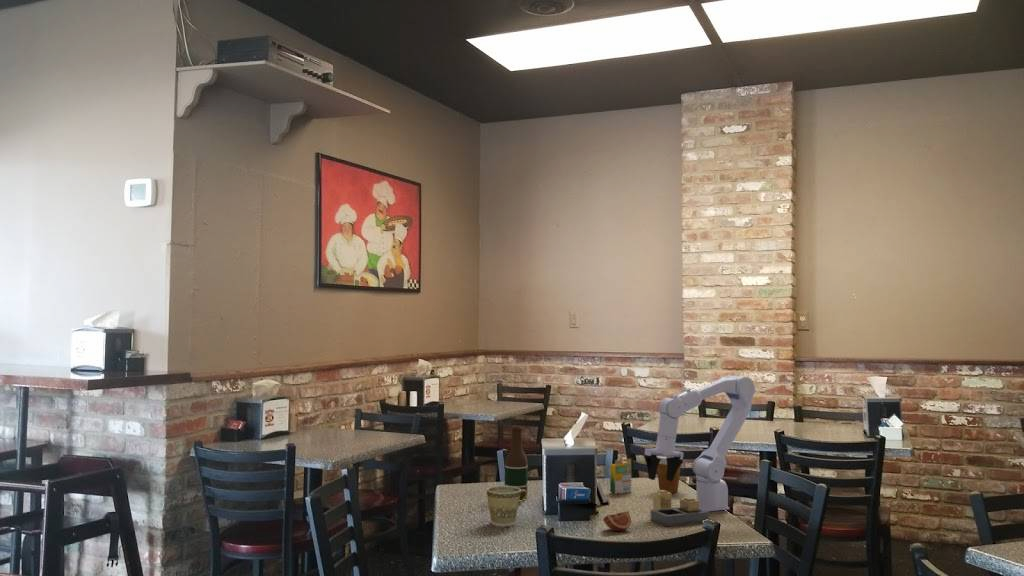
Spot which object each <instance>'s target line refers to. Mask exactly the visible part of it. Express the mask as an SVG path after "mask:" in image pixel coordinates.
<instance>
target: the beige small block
mask: <svg viewBox="0 0 1024 576" xmlns="http://www.w3.org/2000/svg"><path fill="white" fill-rule="evenodd" d="M652 494H653V495H652V496H653V497H652V500H653V503H652V505H653V508H652V510H657V509H667V508H672V493H670V492H668V491H665V490H658V489H657V490H654V491H653V493H652Z"/></svg>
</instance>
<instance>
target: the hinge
mask: <svg viewBox="0 0 1024 576" xmlns="http://www.w3.org/2000/svg"><path fill="white" fill-rule="evenodd" d="M605 502H606V504H607V503H608V504H607V505H609V504H610V505H611V502H610V499H609V498H608V497H606V496H605V493H604V490H603V488H602V485H601V482H600V481H599V480H598V479H597V505H599V506H600V505H601V504H602V503H603V504H604V503H605ZM597 505H596V506H597Z"/></svg>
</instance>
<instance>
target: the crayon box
mask: <svg viewBox="0 0 1024 576" xmlns="http://www.w3.org/2000/svg"><path fill="white" fill-rule="evenodd" d="M609 473H610V474H609V477H610V478H609V481H610V483H609V488H610V490H609V492H612V493H611V494H613V493H614V494H613V495H618V494H617V493H619V494H624V493H625V492H627V493H632V458H625V459H615V460H614V463H612V464H609ZM625 494H626V493H625Z"/></svg>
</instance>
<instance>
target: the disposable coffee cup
mask: <svg viewBox="0 0 1024 576" xmlns="http://www.w3.org/2000/svg"><path fill="white" fill-rule="evenodd" d="M663 455H667V454H663ZM670 456H671V455H670ZM656 457H657V458H659V459H661V460H660V462H659V464H658V467H657V471H656V474H657V481H658V488H659V490H665V491H668V492H670V493H671V494H675V493H678V491H679V482H680V474H681V468H682V464H681V465H680V467H679V468H678V470H677V472H676V474H675V476H674V479H673V481H669V480H667V477H666V476H667V459H666V458H667V457H662V456H656Z"/></svg>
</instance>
